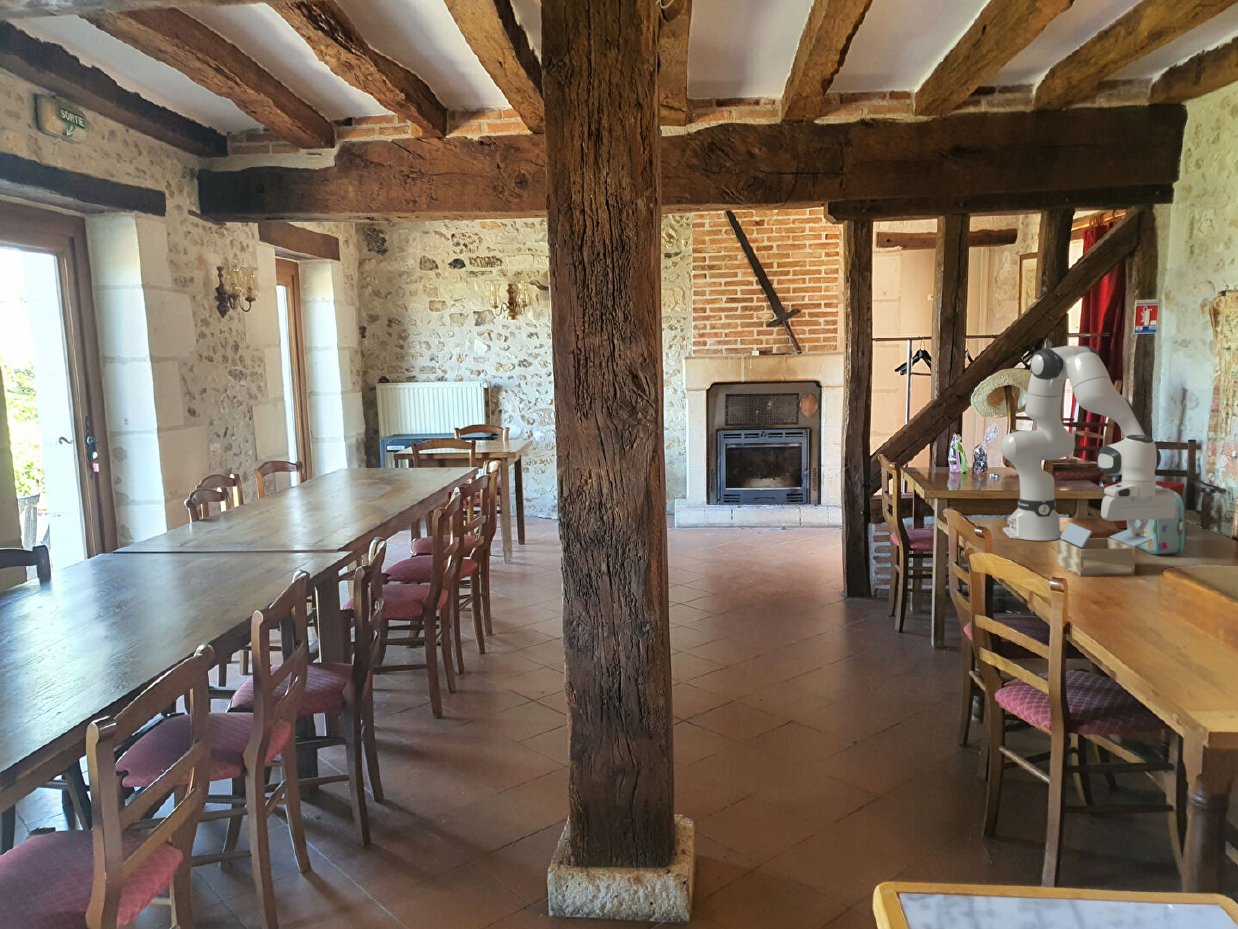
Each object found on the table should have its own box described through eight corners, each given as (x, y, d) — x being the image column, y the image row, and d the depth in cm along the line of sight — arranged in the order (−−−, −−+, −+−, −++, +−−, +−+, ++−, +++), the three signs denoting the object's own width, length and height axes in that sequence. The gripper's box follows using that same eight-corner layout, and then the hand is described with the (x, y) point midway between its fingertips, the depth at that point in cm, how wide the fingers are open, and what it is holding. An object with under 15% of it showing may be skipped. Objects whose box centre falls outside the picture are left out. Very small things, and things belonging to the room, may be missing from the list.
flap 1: (1059, 537, 260) (1069, 522, 260) (1061, 538, 260) (1070, 523, 260) (1081, 547, 247) (1091, 531, 246) (1082, 548, 247) (1092, 531, 246)
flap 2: (1109, 536, 260) (1126, 529, 259) (1110, 537, 260) (1127, 531, 259) (1133, 545, 246) (1151, 538, 246) (1134, 547, 246) (1152, 540, 246)
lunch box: (1191, 558, 262) (1193, 491, 259) (1155, 558, 264) (1156, 492, 261) (1154, 540, 288) (1156, 479, 285) (1122, 540, 290) (1123, 480, 287)
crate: (1057, 564, 262) (1057, 539, 261) (1108, 562, 261) (1108, 537, 260) (1080, 576, 247) (1080, 550, 246) (1134, 574, 246) (1135, 548, 245)
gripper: (1168, 486, 253) (1166, 530, 255) (1098, 488, 254) (1097, 533, 256) (1180, 489, 247) (1179, 534, 248) (1109, 491, 248) (1108, 537, 250)
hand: (1137, 534), depth 252 cm, fingers closed
